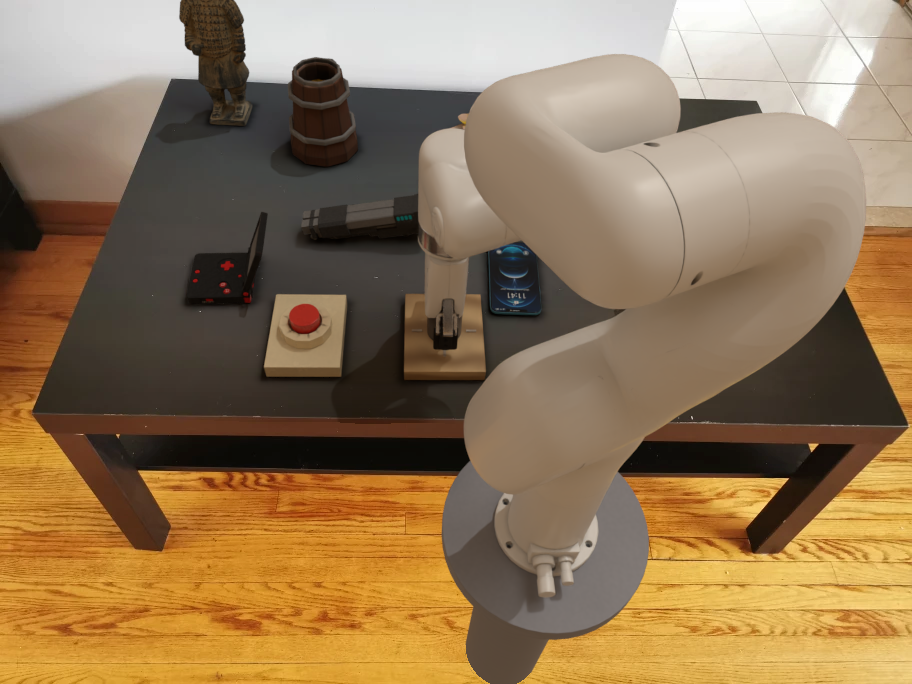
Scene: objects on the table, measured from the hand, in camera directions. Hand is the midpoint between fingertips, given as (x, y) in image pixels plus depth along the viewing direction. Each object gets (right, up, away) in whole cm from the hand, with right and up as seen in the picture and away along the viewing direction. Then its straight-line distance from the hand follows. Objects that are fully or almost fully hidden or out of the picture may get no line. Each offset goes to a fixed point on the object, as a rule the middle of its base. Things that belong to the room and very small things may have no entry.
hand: (444, 323), depth 97 cm
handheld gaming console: (-31, +7, +8) cm, 33 cm away
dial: (0, -1, +1) cm, 2 cm away
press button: (-19, 0, -1) cm, 19 cm away
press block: (-19, -2, +2) cm, 19 cm away
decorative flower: (+8, +35, +33) cm, 49 cm away
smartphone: (+11, +7, +11) cm, 17 cm away
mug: (-22, +34, +30) cm, 50 cm away
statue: (-40, +40, +33) cm, 65 cm away
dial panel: (0, -2, +3) cm, 4 cm away
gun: (-12, +14, +15) cm, 24 cm away
